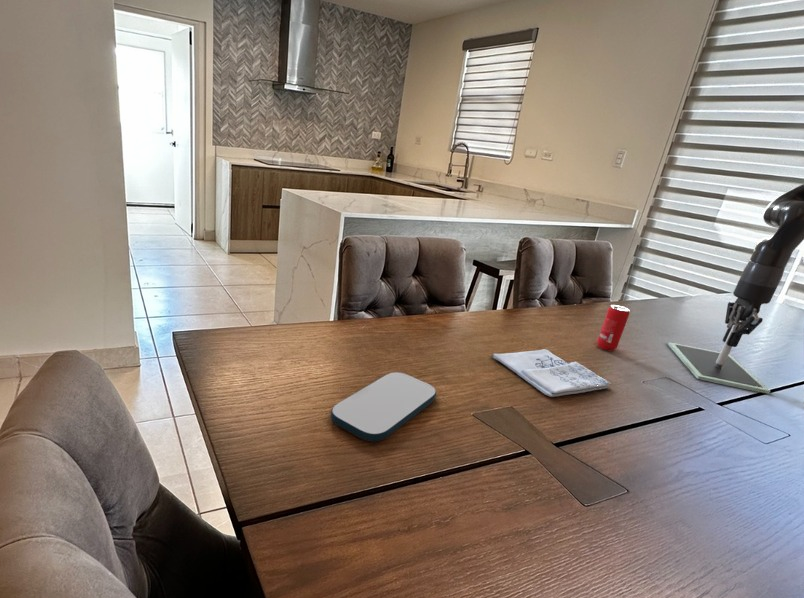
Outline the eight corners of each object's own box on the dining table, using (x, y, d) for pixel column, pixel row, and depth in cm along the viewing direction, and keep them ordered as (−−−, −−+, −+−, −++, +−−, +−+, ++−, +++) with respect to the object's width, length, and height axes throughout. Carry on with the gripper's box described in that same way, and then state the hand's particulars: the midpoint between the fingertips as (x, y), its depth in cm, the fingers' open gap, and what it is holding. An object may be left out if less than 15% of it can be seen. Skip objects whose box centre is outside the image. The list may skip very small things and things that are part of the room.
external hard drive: (375, 449, 78) (376, 439, 77) (322, 420, 84) (323, 410, 83) (440, 398, 96) (442, 389, 95) (393, 376, 102) (394, 368, 101)
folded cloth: (550, 400, 100) (553, 391, 100) (489, 357, 117) (491, 349, 116) (611, 389, 108) (614, 381, 107) (546, 351, 125) (548, 343, 124)
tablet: (728, 356, 137) (729, 353, 136) (769, 394, 116) (770, 390, 116) (667, 344, 140) (669, 341, 140) (697, 379, 119) (699, 375, 119)
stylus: (720, 366, 127) (739, 325, 122) (723, 369, 125) (742, 327, 120) (713, 364, 127) (731, 324, 122) (715, 367, 125) (735, 326, 121)
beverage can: (592, 342, 135) (606, 303, 130) (610, 344, 135) (624, 305, 130) (600, 350, 130) (615, 310, 125) (619, 352, 130) (634, 312, 125)
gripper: (791, 292, 110) (758, 358, 116) (762, 277, 122) (733, 337, 129) (755, 285, 111) (724, 351, 118) (729, 271, 124) (702, 331, 130)
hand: (729, 343), depth 123 cm, fingers closed on stylus, 2 cm apart
